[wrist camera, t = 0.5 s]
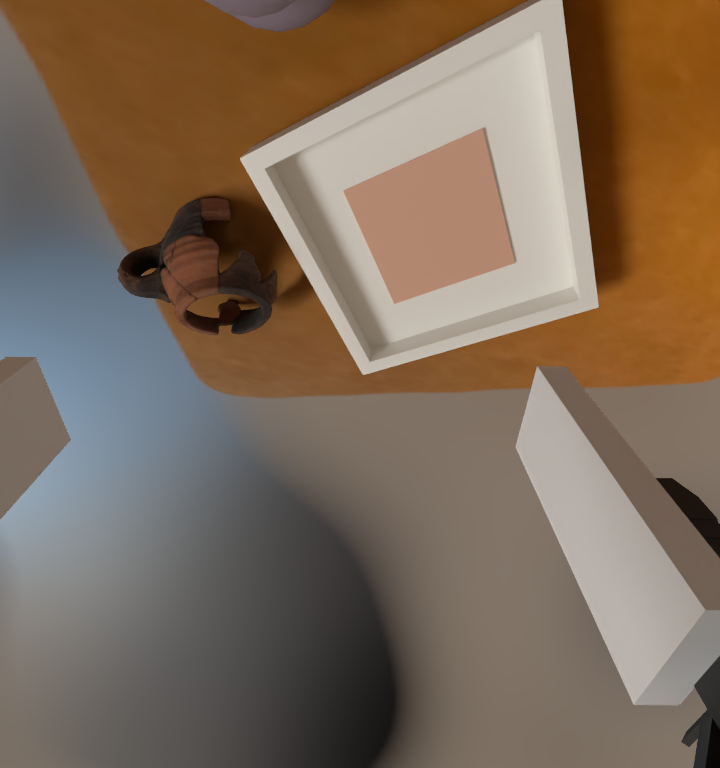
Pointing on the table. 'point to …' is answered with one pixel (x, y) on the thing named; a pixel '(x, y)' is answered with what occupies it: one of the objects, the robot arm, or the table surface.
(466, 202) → the tray
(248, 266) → the pottery mug
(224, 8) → the cat figurine
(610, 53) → the table surface
